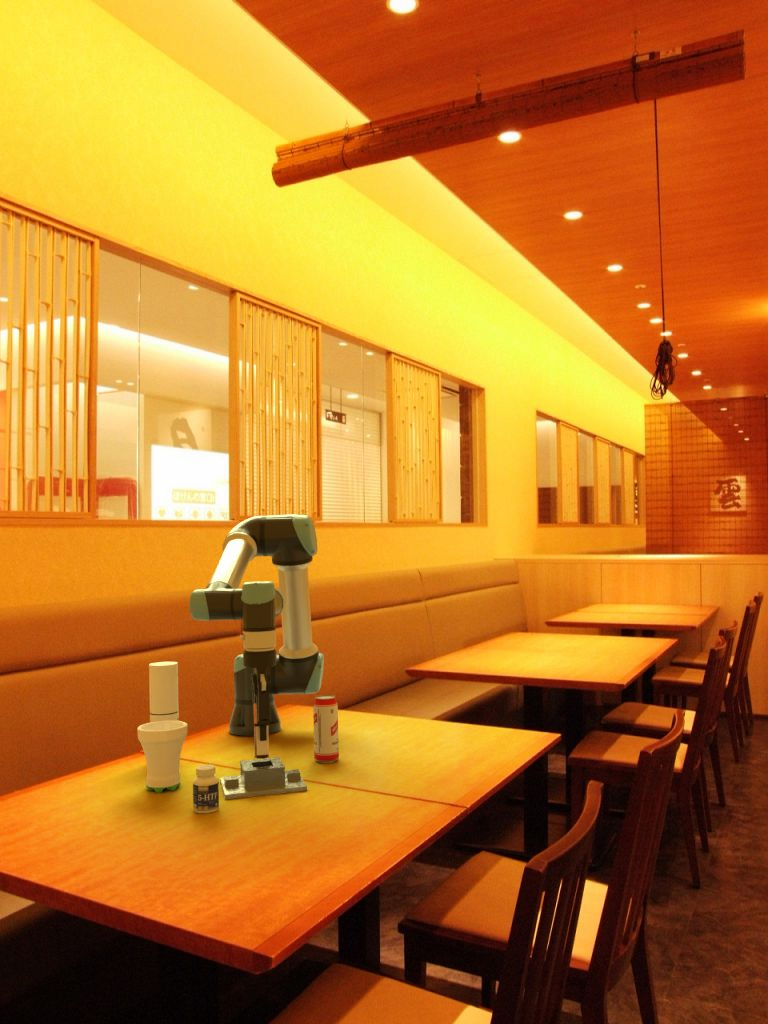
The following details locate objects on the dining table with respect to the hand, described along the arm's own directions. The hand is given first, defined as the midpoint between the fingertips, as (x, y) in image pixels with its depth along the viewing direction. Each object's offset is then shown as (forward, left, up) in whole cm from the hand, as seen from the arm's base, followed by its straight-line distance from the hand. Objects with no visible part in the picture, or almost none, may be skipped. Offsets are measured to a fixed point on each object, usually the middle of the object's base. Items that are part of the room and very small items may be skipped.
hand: (261, 752), depth 190 cm
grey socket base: (0, 0, -8) cm, 8 cm away
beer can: (-17, +18, -8) cm, 26 cm away
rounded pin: (0, 0, -1) cm, 1 cm away
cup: (-7, -22, -8) cm, 24 cm away
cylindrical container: (-31, -21, -8) cm, 39 cm away
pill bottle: (+13, -13, -8) cm, 20 cm away
